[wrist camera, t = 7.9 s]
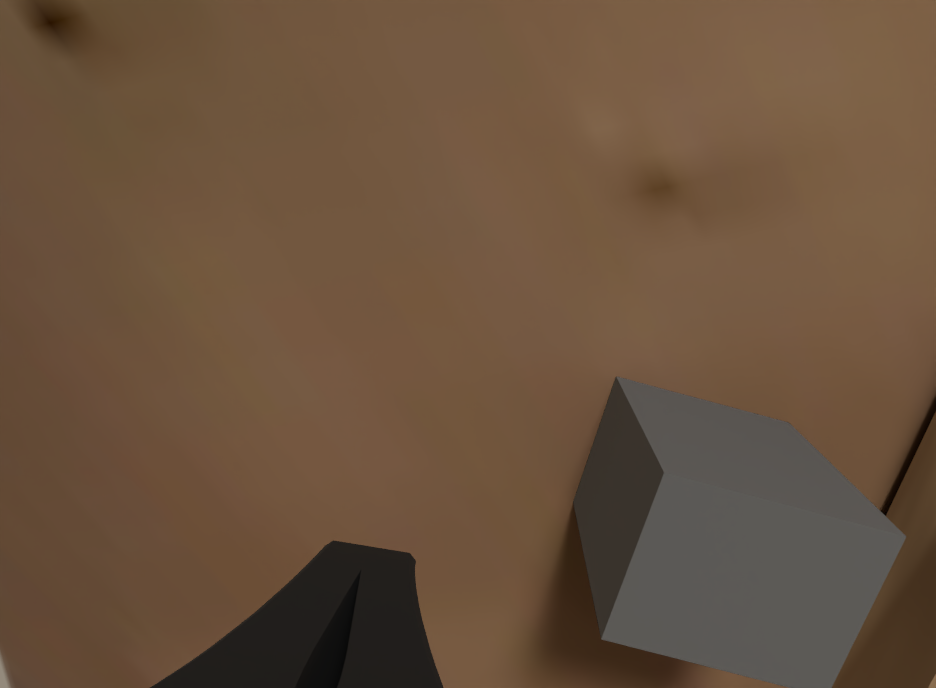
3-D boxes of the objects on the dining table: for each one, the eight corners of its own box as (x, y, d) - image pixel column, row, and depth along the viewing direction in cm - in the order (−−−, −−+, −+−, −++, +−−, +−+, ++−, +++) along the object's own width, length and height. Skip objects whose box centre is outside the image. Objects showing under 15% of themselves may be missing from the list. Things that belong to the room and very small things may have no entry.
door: (1023, 331, 19) (1167, 382, 15) (821, 734, 22) (893, 865, 18) (969, 316, 19) (1099, 363, 15) (776, 723, 22) (837, 851, 18)
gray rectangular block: (788, 422, 20) (906, 536, 14) (736, 544, 21) (826, 696, 15) (616, 376, 20) (663, 472, 14) (572, 501, 21) (601, 639, 15)
